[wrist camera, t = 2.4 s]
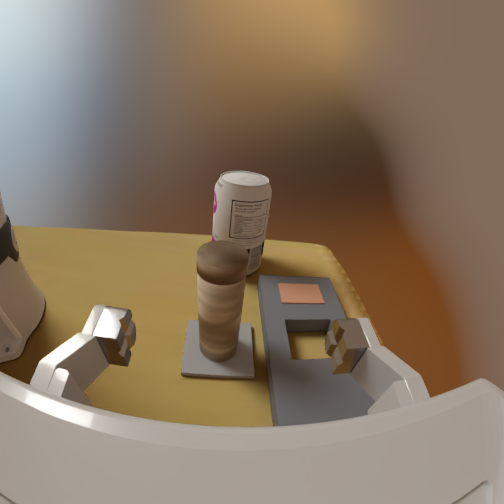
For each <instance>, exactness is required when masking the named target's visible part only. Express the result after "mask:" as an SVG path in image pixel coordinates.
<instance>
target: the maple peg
mask: <svg viewBox="0 0 504 504" xmlns="http://www.w3.org/2000/svg"><path fill="white" fill-rule="evenodd" d="M248 262H249V253H248V251H247V250H246V249H245V248H244V247H243V246H241V245H239V244H237V243H234V242H231V241H223V240H218V241H211V242H208V243H205V244H203V245H202V246H201V247H200V248H199V249H198V250H197V284H198V320H199V343H200V351H201V353H202V354H203V355H204V356H205V357H206V358H207V359H209V360H211V361H215V362H223V361H227V360H229V359H231V358H232V357H233V356H234V355H235V354H236V352H237V346H238V338H239V330H240V322H241V314H242V306H243V298H244V290H245V281H246V275H247V270H248Z"/></svg>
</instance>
